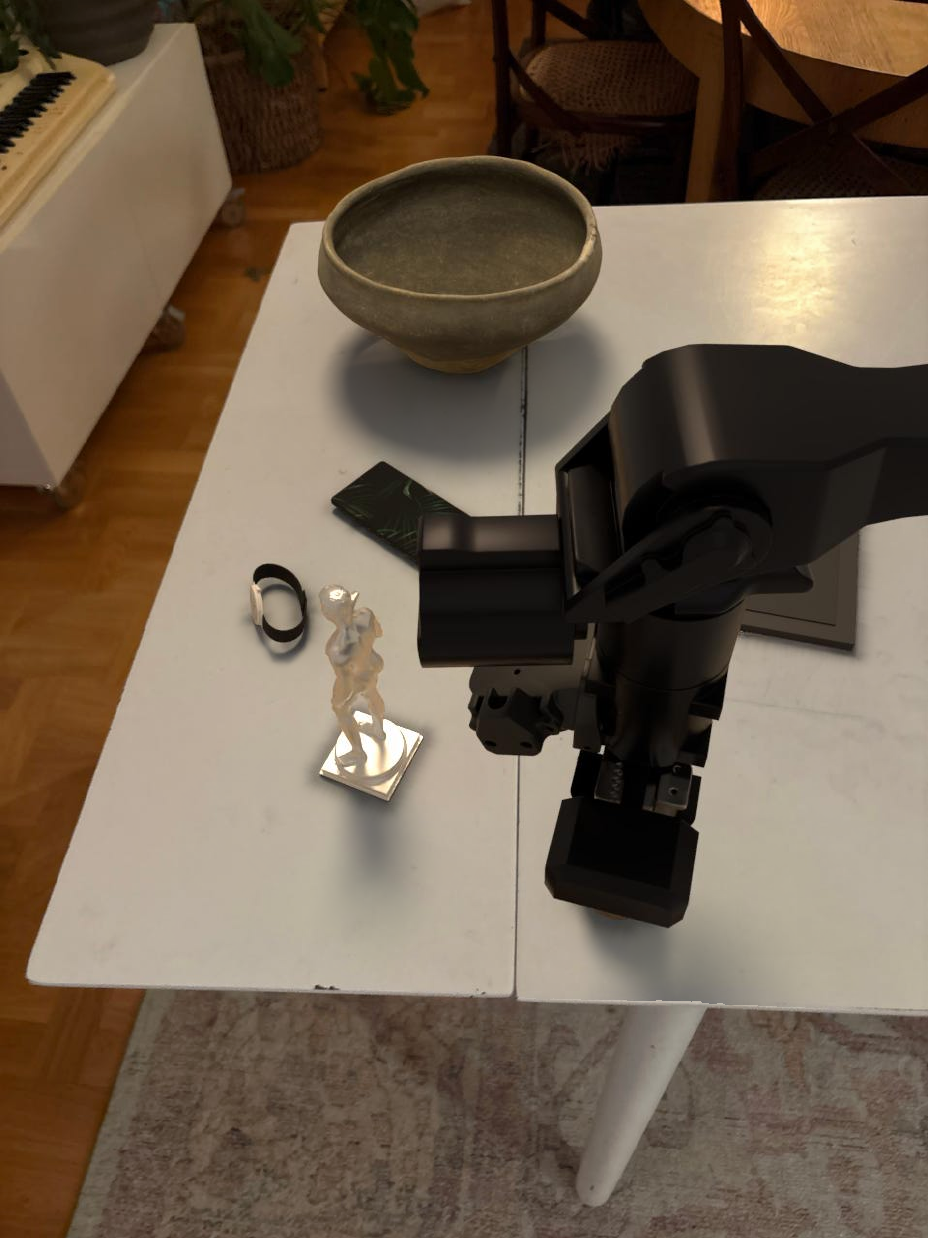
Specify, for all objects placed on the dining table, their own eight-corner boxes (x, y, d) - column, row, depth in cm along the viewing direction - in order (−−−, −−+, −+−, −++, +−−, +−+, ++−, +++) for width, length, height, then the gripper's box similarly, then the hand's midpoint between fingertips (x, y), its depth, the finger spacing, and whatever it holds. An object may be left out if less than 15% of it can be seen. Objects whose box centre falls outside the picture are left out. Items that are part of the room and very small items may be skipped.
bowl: (314, 425, 90) (283, 299, 79) (356, 271, 107) (336, 149, 96) (597, 427, 88) (607, 297, 76) (595, 269, 104) (603, 143, 93)
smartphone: (448, 581, 75) (328, 498, 82) (449, 588, 76) (330, 506, 83) (503, 534, 78) (382, 458, 85) (503, 542, 79) (383, 466, 86)
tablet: (649, 391, 90) (650, 383, 90) (860, 418, 86) (863, 410, 85) (594, 604, 74) (595, 596, 73) (851, 651, 70) (855, 643, 69)
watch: (245, 588, 78) (234, 559, 75) (298, 572, 78) (289, 543, 76) (263, 656, 73) (252, 628, 70) (320, 638, 74) (311, 610, 71)
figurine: (372, 685, 71) (332, 524, 56) (446, 723, 68) (423, 564, 54) (306, 767, 67) (245, 615, 52) (381, 810, 64) (339, 664, 50)
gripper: (533, 460, 46) (532, 643, 58) (417, 782, 35) (446, 923, 47) (760, 495, 43) (709, 679, 56) (711, 853, 33) (661, 982, 45)
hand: (632, 801), depth 51 cm, fingers closed
